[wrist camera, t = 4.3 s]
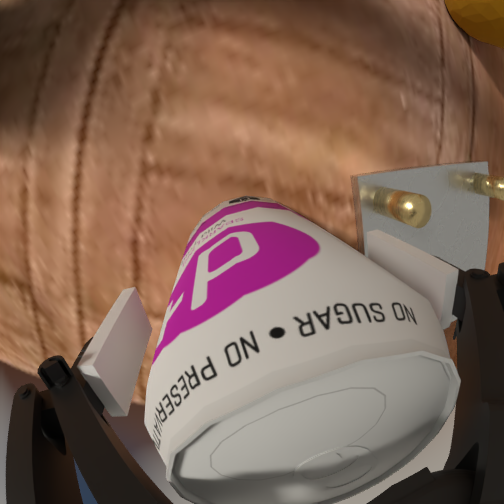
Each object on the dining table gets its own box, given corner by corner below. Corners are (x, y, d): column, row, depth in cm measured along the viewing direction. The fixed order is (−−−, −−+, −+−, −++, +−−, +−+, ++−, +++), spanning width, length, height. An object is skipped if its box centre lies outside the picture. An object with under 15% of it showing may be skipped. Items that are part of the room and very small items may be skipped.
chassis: (360, 356, 23) (384, 391, 18) (350, 175, 18) (391, 181, 13) (472, 303, 24) (500, 322, 19) (480, 160, 19) (518, 166, 14)
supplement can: (162, 243, 18) (59, 446, 3) (267, 170, 17) (464, 204, 3) (233, 329, 20) (266, 530, 6) (327, 267, 20) (472, 420, 6)
